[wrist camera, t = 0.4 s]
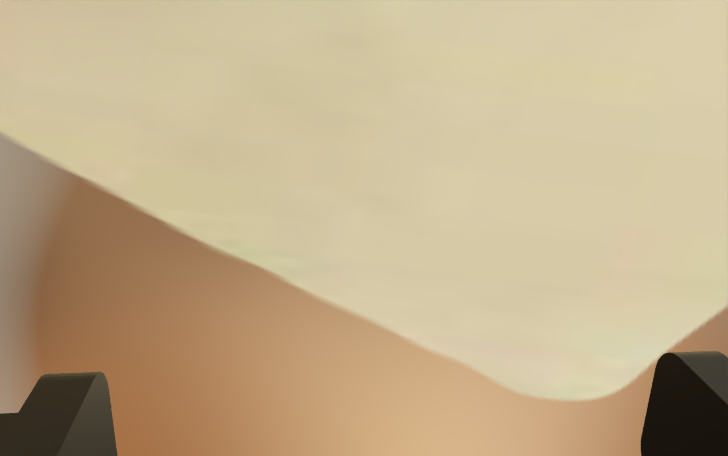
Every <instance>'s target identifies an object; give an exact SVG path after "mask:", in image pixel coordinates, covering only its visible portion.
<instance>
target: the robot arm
mask: <svg viewBox="0 0 728 456" xmlns="http://www.w3.org/2000/svg"><path fill="white" fill-rule="evenodd" d="M115 442H116V441H115V434H114V426H113V418H112V411H111V403H110V395H109V388H108V383H107V379H106V377H105V375H104V374H103V373H102V372H89V373H62V374H45V375H43V376H42V377H41V378H40V379H39V380H38V382H37V384H36V385H35V387H34V388H33V390H32V392H31V393H30V395H29V397H28V398H27V400H26V401H25V403H24V404H23V406H22V408H21V409H20V411H19V412H18V413H7V414H6V413H5V414H0V456H117V449H116V443H115ZM641 455H642V456H728V358H727V357H726V356H725V355H724V354H722V353H720V352H717V351H701V352H677V353H675V352H674V353H665V354H663V355H662V356H661V357H660V359H659V360H658V362H657V365H656V368H655V373H654V378H653V383H652V388H651V393H650V398H649V403H648V408H647V412H646V417H645V422H644V427H643V432H642V437H641Z"/></svg>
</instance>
